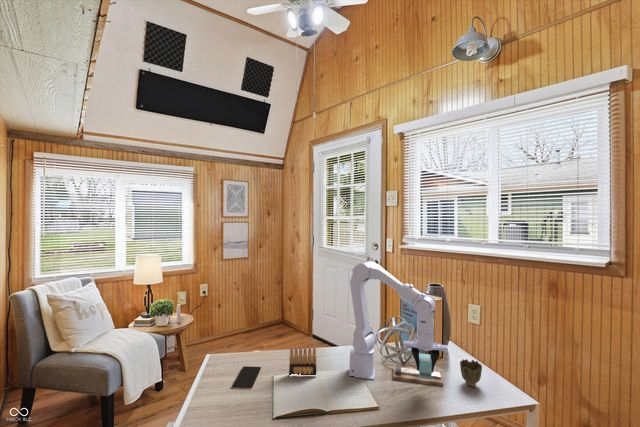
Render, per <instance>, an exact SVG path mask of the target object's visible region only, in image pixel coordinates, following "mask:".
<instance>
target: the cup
mask: <svg viewBox="0 0 640 427" xmlns="http://www.w3.org/2000/svg"><path fill="white" fill-rule="evenodd" d="M459 364H460V365H459V366H460V367H459V368H460V373H461V376H462V379H464V382H465V385H466V386H467V387H470V388H475V387H476V386H477V384H478V383H479V381H480V380H481V377H482V373H483V372H482V370H483V365H482V364H481V363H479V362H478V361H475V360H474V359H472V360H471V361H469V360H468V359H462V360H460V361H459Z"/></svg>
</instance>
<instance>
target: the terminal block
mask: <svg viewBox="0 0 640 427" xmlns="http://www.w3.org/2000/svg"><path fill="white" fill-rule="evenodd" d="M419 378H421V379H429V380H432V361H431V354H427V353H420V352H419Z"/></svg>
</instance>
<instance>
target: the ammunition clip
mask: <svg viewBox="0 0 640 427" xmlns="http://www.w3.org/2000/svg"><path fill="white" fill-rule="evenodd" d="M294 346H295V347H293V345H291V346H290V350H289V361H288V362H289V369H288V376H289V375H291V374H298V375H299V374H301V375H316V373H317V348H316V345H315V344H314V345H313V348H312V346H311V345H308V350H307V346H306V344H305V345H304V346H303V347H304V348H303V347H302V344H301V345H299V350H298V345H296V344H295V345H294Z"/></svg>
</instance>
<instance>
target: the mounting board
mask: <svg viewBox="0 0 640 427" xmlns="http://www.w3.org/2000/svg"><path fill="white" fill-rule="evenodd" d="M392 367H393V369H392V380H393V381H395V380H396V381H403V382H409V383H418V384H424V385H432V386H440V387H444V381H443V377H442V373H441V370H435V369H434V370H433V371H434V372H440V375H441V379H437V378H432V380H429V379H421V378H419V376H414V375H407V374H401V375H400V374H396V373H395V367H396V364H395V365H393V366H392ZM401 367H402V368H410V369H417V367H410V366H404V365H403V366H402V365H401Z"/></svg>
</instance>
